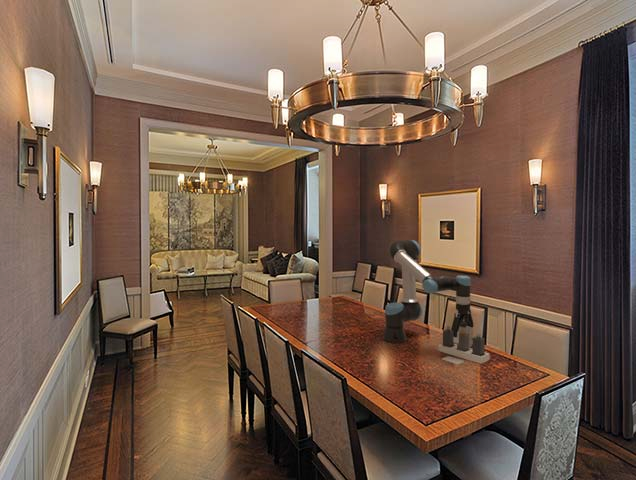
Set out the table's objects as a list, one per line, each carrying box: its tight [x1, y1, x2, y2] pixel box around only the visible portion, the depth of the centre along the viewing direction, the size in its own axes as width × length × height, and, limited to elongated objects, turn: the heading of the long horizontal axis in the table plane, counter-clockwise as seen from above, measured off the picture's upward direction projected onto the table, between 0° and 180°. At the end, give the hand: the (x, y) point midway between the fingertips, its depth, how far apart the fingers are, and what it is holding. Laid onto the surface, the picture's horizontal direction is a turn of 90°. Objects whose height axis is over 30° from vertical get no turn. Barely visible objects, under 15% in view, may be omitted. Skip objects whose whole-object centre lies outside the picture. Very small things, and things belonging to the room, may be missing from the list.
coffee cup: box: [458, 320, 475, 348], centre depth 217 cm, size 9×9×15 cm
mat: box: [441, 355, 465, 365], centre depth 193 cm, size 10×7×1 cm
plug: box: [456, 330, 470, 352], centre depth 200 cm, size 4×4×14 cm
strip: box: [437, 325, 491, 365], centre depth 200 cm, size 26×9×15 cm, turn 39°
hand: (462, 340), depth 200 cm, fingers open, 13 cm apart
